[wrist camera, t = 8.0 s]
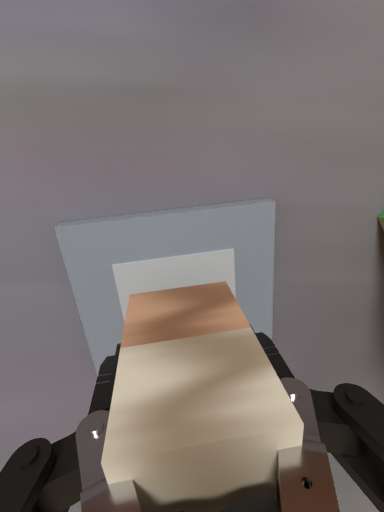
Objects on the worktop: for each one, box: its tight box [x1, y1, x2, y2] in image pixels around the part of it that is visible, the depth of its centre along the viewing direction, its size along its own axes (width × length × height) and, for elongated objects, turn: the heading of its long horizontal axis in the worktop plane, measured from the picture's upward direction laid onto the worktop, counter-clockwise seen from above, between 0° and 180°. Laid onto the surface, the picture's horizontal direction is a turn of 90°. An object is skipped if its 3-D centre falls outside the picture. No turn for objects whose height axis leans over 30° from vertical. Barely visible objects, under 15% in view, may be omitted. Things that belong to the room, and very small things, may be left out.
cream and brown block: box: [101, 281, 304, 512], centre depth 11 cm, size 5×5×8 cm
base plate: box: [54, 198, 275, 376], centre depth 17 cm, size 12×12×1 cm
